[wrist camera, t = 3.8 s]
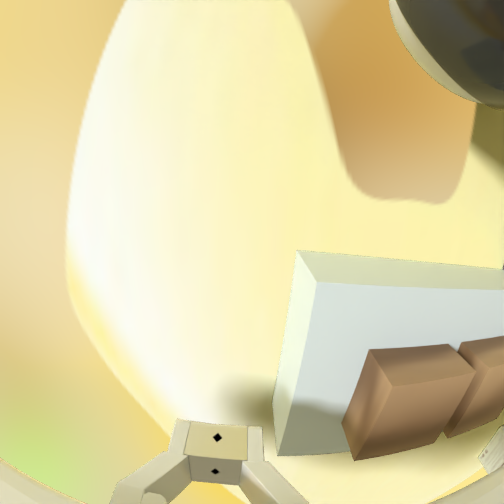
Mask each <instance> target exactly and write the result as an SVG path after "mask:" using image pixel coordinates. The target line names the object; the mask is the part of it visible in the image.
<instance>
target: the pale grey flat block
mask: <svg viewBox="0 0 504 504" xmlns="http://www.w3.org/2000/svg"><path fill="white" fill-rule="evenodd" d="M498 336H504V270H503V269H493V268H483V267H473V266H462V265H452V264H442V263H432V262H421V261H411V260H400V259H389V258H379V257H368V256H357V255H346V254H335V253H324V252H313V251H301V250H297V251H296V258H295V266H294V273H293V280H292V287H291V294H290V301H289V307H288V314H287V320H286V326H285V333H284V339H283V345H282V351H281V356H280V362H279V368H278V373H277V379H276V384H275V390H274V395H273V400H272V407H273V417H274V427H275V438H276V449H277V456H302V455H319V454H330V453H340V452H349V451H350V448H349V445H348V442H347V439H346V436H345V433H344V430H343V427H342V424H341V422H342V420H343V418H344V415H345V413H346V411H347V408H348V406H349V403H350V401H351V398H352V396H353V393H354V390H355V388H356V385H357V382H358V380H359V377H360V374H361V371H362V368H363V365H364V362H365V359H366V356H367V353H368V350H369V349H384V348H402V347H416V346H428V345H439V344H449V345H450V346H451V347H452V348H453V349H454V350H455V351H456V352H457V351H458V349H459V346H460V344H461V342H465V341H472V340H479V339H486V338H492V337H498ZM442 431H443V430H442Z"/></svg>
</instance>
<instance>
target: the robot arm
mask: <svg viewBox="0 0 504 504" xmlns="http://www.w3.org/2000/svg"><path fill="white" fill-rule="evenodd" d="M191 481H198V482H209V483H219V484H229V485H239V487H240V488H241V490H242V491H243V492H244V494H245V495H246V497H247V498H248V499H249V501H250V502H251V504H309V502H308V501H307V500H306V499H305V498H304V497H303V496H302V495H301V494H300V493H299V492H298V491H297V490H296V489H295V488H294V487H293V486H292V485H291V484H290V483H289V482H288V481H287V480H286V479H285V478H284V477H283V476H282V475H281V474H280V473H279V472H278V471H277V470H276V469H275V468H274V467H273V466H272V465H271V464H270V463H269V462H268V461H264V447H263V429H262V427H257V426H239V425H223V424H210V423H203V422H196V421H189V420H183V419H177V420H176V422H175V425H174V429H173V432H172V436H171V440H170V444H169V448H168V451H167V452H164V451H163V452H162V453H160V454H159V455H157V456H156V457H155V458H153V459H152V460H150V461H149V462H147V463H146V464H144V465H143V466H142V467H140V468H139V469H137V470H136V471H134V472H133V473H131V474H130V475H128V476H127V477H125V478H124V479H122V480H120V481H119V482H117V484H116V487H115V490H114V492H113V495H112V498H111V501H110V503H109V504H169V503H170V502H171V501H172V500H173V499H174V498H175V497H176V496H178V495H179V494H180V493H181V492H182V491H183V490H184V489H185V488H186V487H187V486H188V485H189V484H190V483H191ZM0 504H87V503H84V502H81V501H79V500H77V499H74V498H72V497H70V496H68V495H65V494H63V493H61V492H59V491H57V490H55V489H53V488H51V487H49V486H47V485H45V484H43V483H41V482H39V481H37V480H36V479H34V478H32V477H30V476H28V475H27V474H25V473H23V472H22V471H20V470H18V469H17V468H15V467H14V466H12V465H10V464H9V463H7V462H6V461H4V460H3V459H1V458H0ZM429 504H504V465H503V466H501V467H499V468H498V469H496V470H495V471H493V472H491V473H490V474H488V475H486V476H484V477H483V478H481V479H479V480H478V481H476V482H474V483H472V484H470V485H468V486H466V487H464V488H462V489H460V490H458V491H456V492H454V493H452V494H450V495H447V496H445V497H443V498H441V499H438V500H436V501H433V502H431V503H429Z"/></svg>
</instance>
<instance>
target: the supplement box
mask: <svg viewBox="0 0 504 504" xmlns="http://www.w3.org/2000/svg"><path fill="white" fill-rule="evenodd" d="M478 459H479V460H480V462H481V463H482V465H483V467H484V468H485V470H486V472H487V473H488V474H490V473H491V472H493V471H495V470H496V469H498V468H499V467H501V466H503V465H504V425H503V426H501V427H500V428H499V429H498V430H497V432H496V433H495V435H494V436H493V438H492V439H491V440H490V442H489V443H488V444H487V446H486V447H485V449H484V450H483V451H482V453H481V454H480V455H479V457H478Z"/></svg>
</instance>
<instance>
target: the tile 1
mask: <svg viewBox="0 0 504 504" xmlns="http://www.w3.org/2000/svg"><path fill="white" fill-rule="evenodd" d="M475 373H476V371H475V370H474V369H473V368H472V367H471V366H470V365H469V364H468V363H467V362H466V361H465V360H464V359H463V358H462V357H461V356H460V355H459V354H458V353H457V352H456V351H455V350H454V349H453V348H452V347H451V346H450V345H449V344H439V345H428V346H416V347H402V348H384V349H369V350H368V353H367V356H366V359H365V362H364V365H363V368H362V371H361V374H360V377H359V380H358V382H357V385H356V388H355V390H354V393H353V396H352V398H351V401H350V403H349V406H348V408H347V411H346V413H345V415H344V418H343V420H342V422H341V424H342V427H343V430H344V433H345V436H346V439H347V442H348V445H349V448H350V451H351V454H352V457H353V460H354V461H356V460H363V459H369V458H374V457H379V456H384V455H389V454H394V453H398V452H402V451H406V450H410V449H414V448H418V447H422V446H425V445H428V444H432V443H434V442H435V440H436V439H437V437H438V436H439V435H440V433H441V432H442V430H443V429H444V427H445V426H446V424H447V423H448V421H449V419H450V418H451V416H452V415H453V413H454V411H455V410H456V408H457V406H458V405H459V403H460V401H461V400H462V398H463V396H464V394H465V392H466V391H467V389H468V387H469V385H470V383H471V381H472V379H473V377H474V375H475Z"/></svg>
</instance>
